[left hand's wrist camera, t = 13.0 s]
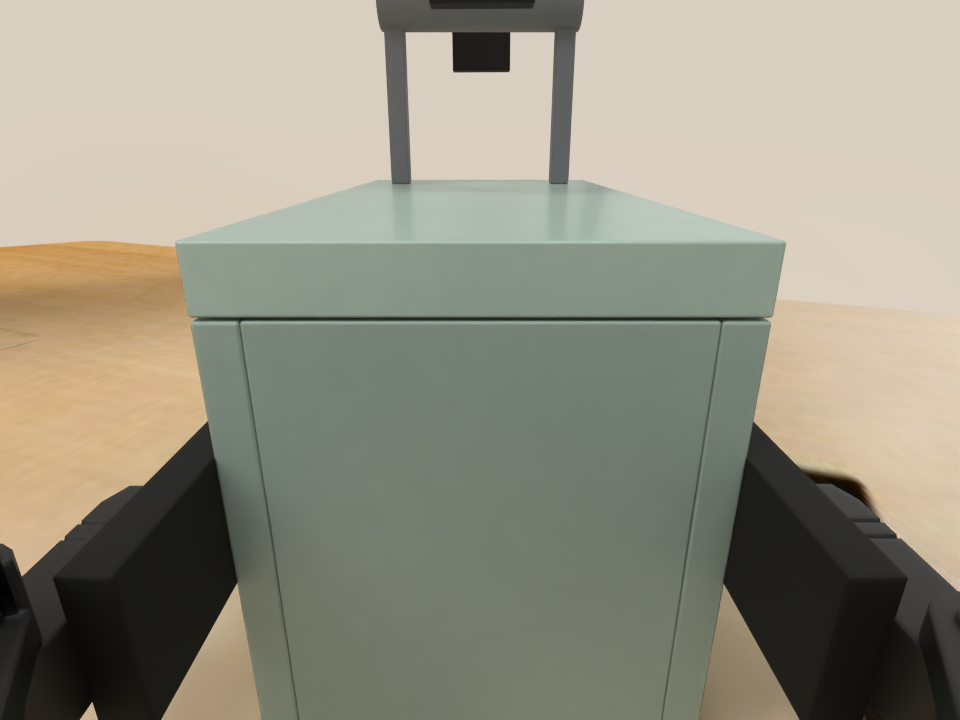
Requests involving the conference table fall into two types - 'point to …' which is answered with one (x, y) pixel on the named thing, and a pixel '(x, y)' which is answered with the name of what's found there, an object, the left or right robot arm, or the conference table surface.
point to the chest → (480, 509)
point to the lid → (480, 229)
